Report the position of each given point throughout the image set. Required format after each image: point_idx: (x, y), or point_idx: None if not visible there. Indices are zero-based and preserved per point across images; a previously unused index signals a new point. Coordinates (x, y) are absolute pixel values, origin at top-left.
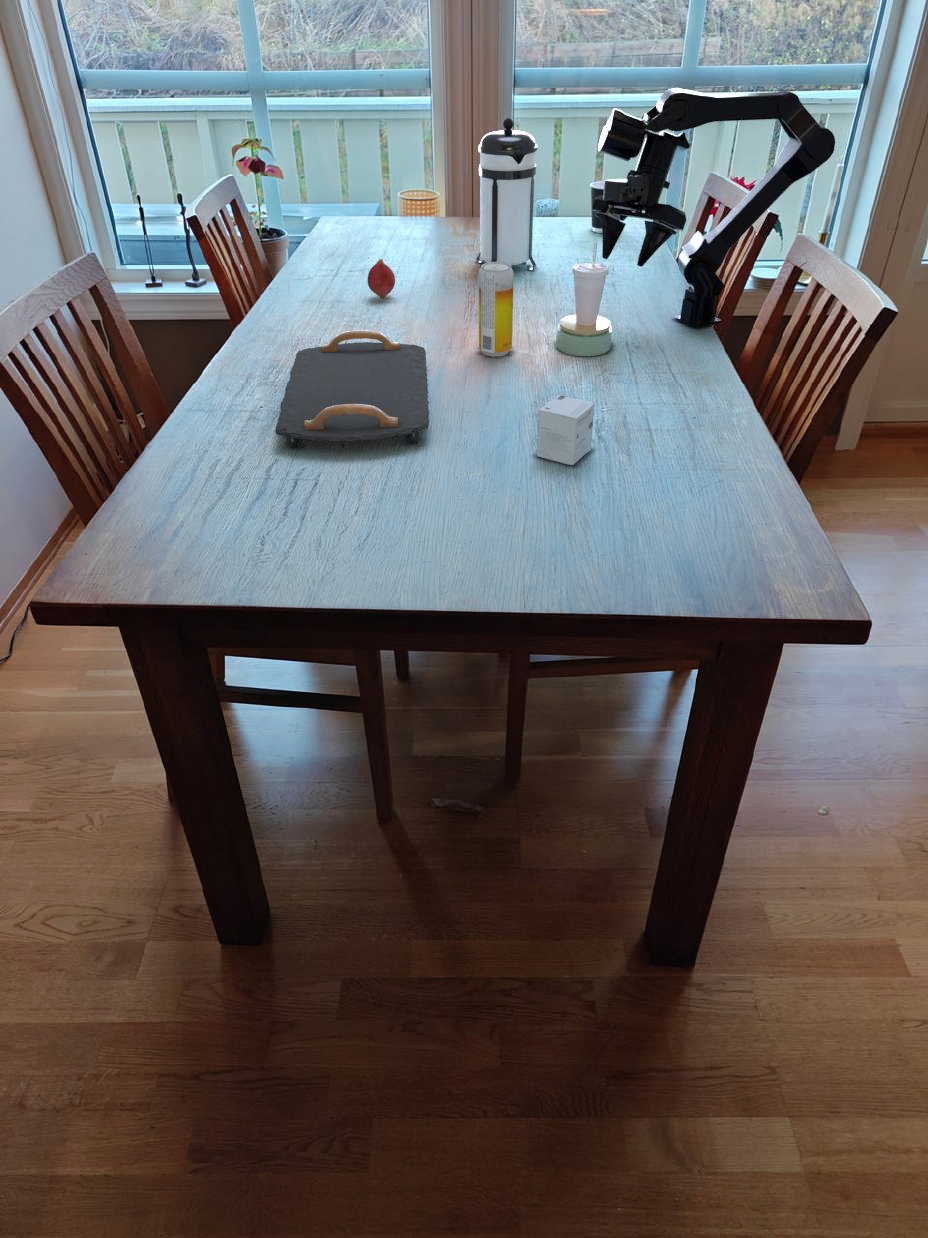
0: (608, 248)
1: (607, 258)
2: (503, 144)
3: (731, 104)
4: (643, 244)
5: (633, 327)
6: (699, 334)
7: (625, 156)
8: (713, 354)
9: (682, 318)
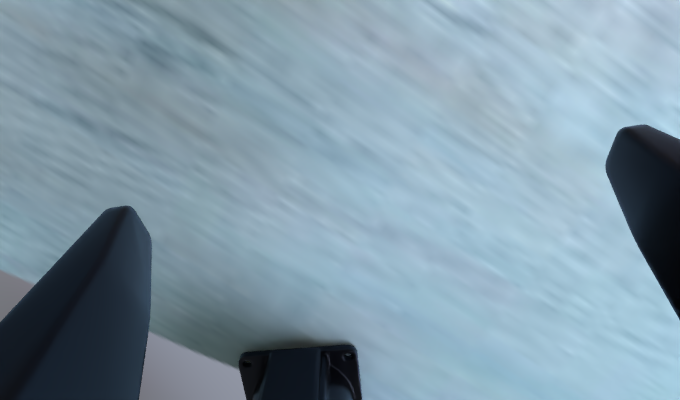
0: (669, 216)
1: (607, 172)
2: None
3: None
4: (8, 374)
5: (365, 178)
6: (195, 329)
7: None
8: (5, 260)
9: (303, 351)
